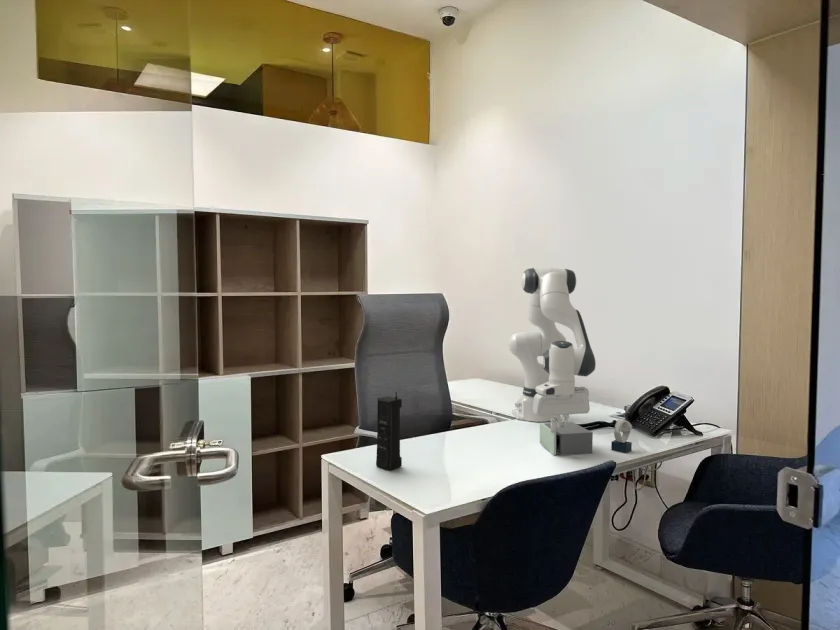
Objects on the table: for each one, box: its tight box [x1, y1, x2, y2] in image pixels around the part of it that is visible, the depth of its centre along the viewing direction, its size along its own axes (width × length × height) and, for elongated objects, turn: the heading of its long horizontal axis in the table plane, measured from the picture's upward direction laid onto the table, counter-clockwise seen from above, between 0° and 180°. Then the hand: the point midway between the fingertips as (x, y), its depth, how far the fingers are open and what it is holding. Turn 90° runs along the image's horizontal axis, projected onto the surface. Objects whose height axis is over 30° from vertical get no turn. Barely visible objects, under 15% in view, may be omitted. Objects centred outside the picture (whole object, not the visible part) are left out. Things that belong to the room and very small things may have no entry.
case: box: [544, 421, 594, 456], centre depth 198 cm, size 15×12×8 cm
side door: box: [539, 418, 557, 456], centre depth 196 cm, size 15×2×12 cm, turn 6°
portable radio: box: [375, 392, 403, 472], centre depth 178 cm, size 8×6×25 cm
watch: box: [610, 419, 633, 454], centre depth 195 cm, size 6×8×11 cm
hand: (561, 426), depth 191 cm, fingers closed
